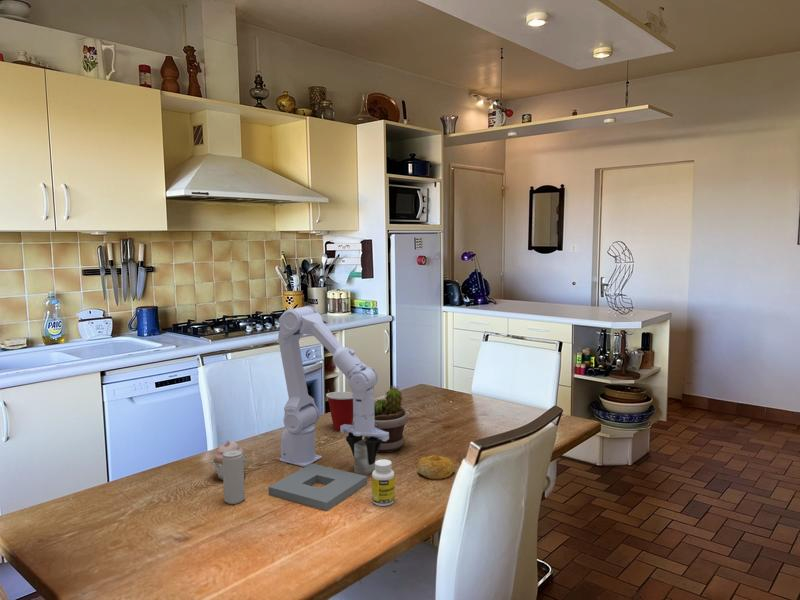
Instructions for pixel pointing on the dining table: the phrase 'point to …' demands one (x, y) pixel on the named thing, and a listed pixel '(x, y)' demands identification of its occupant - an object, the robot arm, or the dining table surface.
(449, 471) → the bagel
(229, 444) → the cupcake
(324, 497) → the socket board
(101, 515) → the dining table surface
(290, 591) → the dining table surface
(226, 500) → the beverage can
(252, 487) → the dining table surface
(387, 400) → the flowerpot
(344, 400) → the plastic cup
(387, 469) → the supplement bottle
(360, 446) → the peg
